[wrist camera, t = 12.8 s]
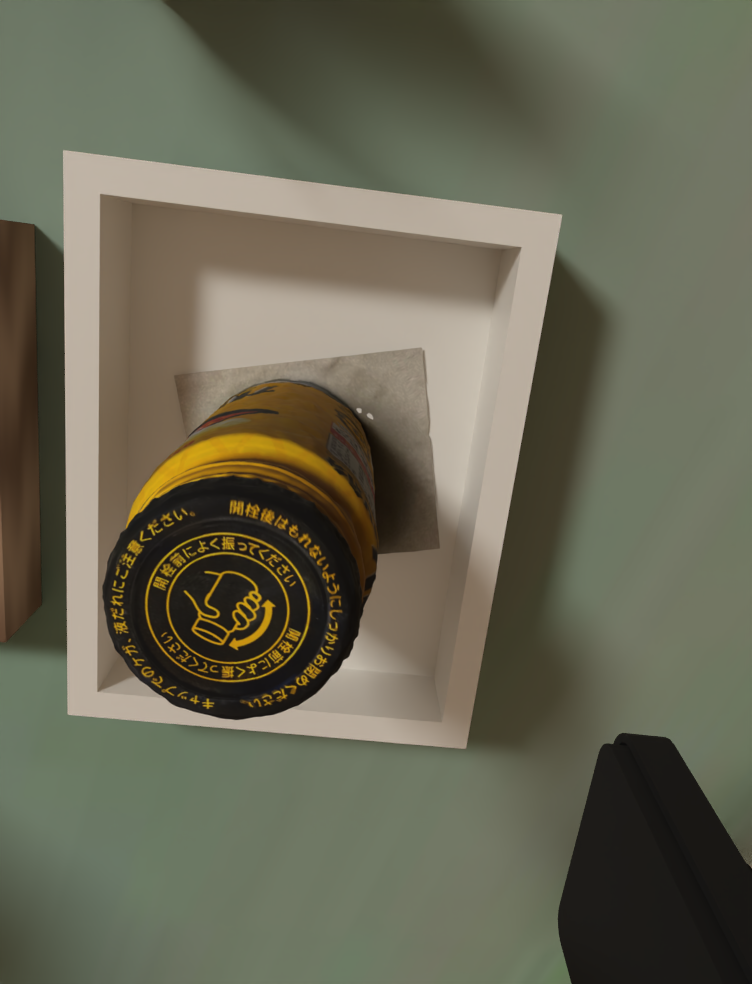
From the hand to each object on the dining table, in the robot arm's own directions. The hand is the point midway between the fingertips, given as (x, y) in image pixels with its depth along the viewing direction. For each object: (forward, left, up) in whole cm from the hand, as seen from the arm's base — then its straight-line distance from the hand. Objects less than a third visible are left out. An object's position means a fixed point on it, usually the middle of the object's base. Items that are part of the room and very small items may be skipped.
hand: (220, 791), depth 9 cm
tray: (+1, 0, -18) cm, 18 cm away
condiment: (0, 0, -18) cm, 18 cm away
